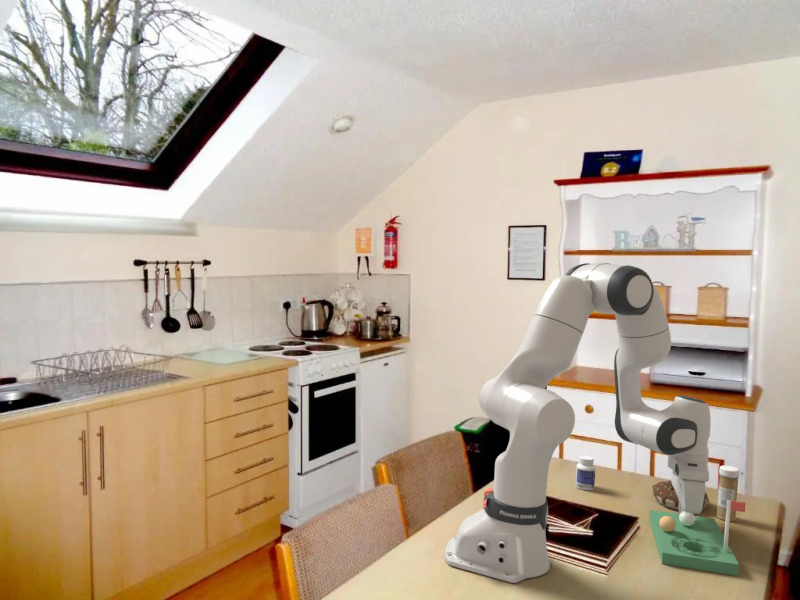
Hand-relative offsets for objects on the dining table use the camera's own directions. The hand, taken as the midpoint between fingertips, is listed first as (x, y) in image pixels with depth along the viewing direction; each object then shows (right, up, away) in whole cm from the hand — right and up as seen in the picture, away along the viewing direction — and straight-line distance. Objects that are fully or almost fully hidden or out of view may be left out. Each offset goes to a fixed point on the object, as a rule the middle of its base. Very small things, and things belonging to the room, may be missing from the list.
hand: (683, 516), depth 150 cm
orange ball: (-7, +1, -7) cm, 10 cm away
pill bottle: (-16, -1, +26) cm, 31 cm away
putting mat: (-2, -4, -8) cm, 9 cm away
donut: (+7, -3, +17) cm, 19 cm away
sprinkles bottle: (+15, -4, +8) cm, 17 cm away
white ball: (-1, +1, -3) cm, 3 cm away
